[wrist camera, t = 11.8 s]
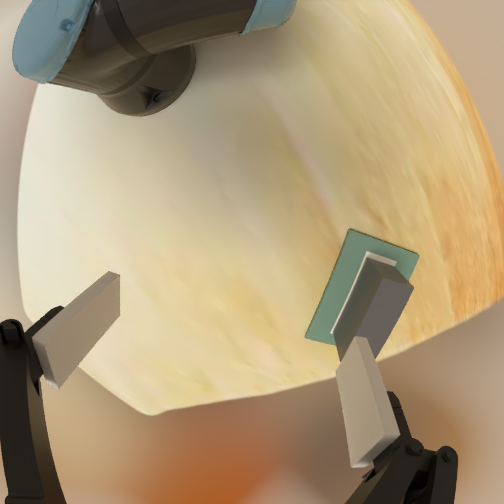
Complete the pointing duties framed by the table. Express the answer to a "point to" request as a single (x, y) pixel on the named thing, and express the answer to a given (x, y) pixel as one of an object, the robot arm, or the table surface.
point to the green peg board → (353, 279)
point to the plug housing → (372, 306)
